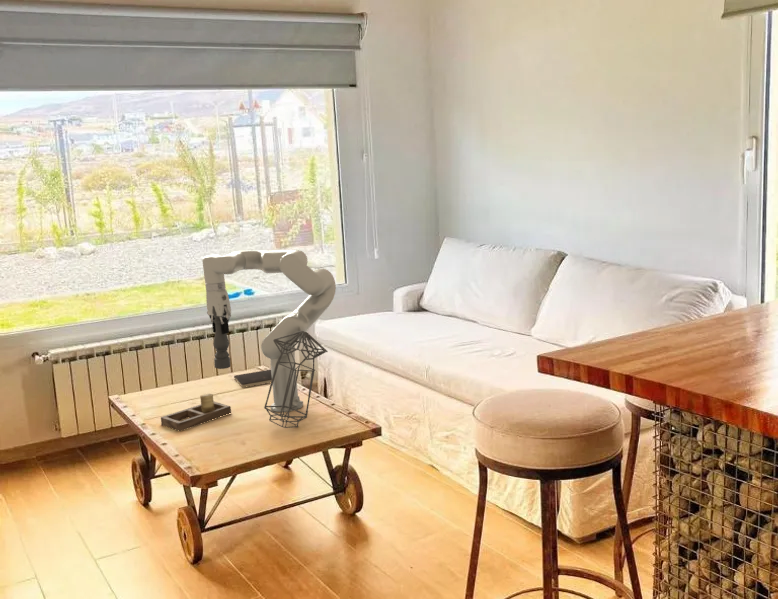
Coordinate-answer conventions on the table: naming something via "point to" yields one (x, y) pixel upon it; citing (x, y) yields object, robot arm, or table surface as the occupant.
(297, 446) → the table surface
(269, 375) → the hardcover book
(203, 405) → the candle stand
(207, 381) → the table surface
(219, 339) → the candle holder
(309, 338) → the geometric lantern
